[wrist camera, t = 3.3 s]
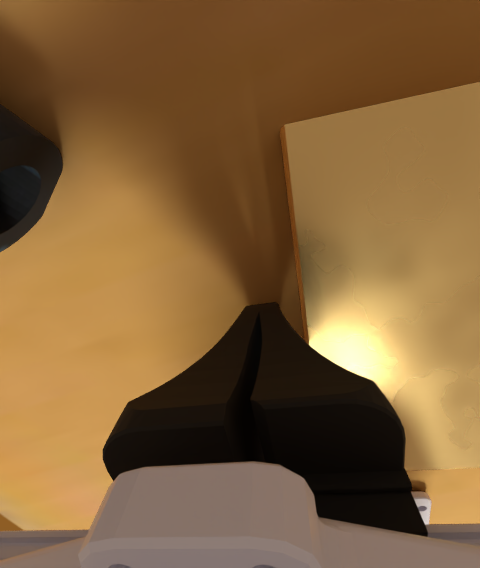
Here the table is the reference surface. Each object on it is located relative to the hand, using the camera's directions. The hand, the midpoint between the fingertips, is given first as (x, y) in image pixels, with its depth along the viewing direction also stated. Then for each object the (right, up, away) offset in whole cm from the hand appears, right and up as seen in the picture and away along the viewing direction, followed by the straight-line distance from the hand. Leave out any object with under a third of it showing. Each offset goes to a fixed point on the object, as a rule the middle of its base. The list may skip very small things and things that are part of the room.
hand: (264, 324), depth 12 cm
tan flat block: (+6, +1, 0) cm, 6 cm away
